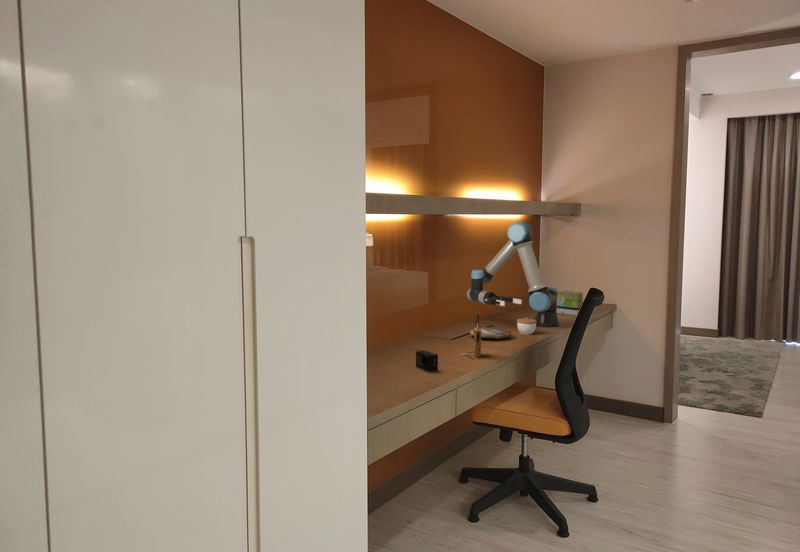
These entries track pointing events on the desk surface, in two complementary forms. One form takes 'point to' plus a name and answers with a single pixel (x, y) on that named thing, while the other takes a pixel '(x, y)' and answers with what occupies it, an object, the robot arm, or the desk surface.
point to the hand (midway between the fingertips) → (513, 302)
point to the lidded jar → (526, 326)
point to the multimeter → (476, 341)
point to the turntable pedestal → (490, 338)
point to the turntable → (492, 332)
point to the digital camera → (426, 360)
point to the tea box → (569, 302)
